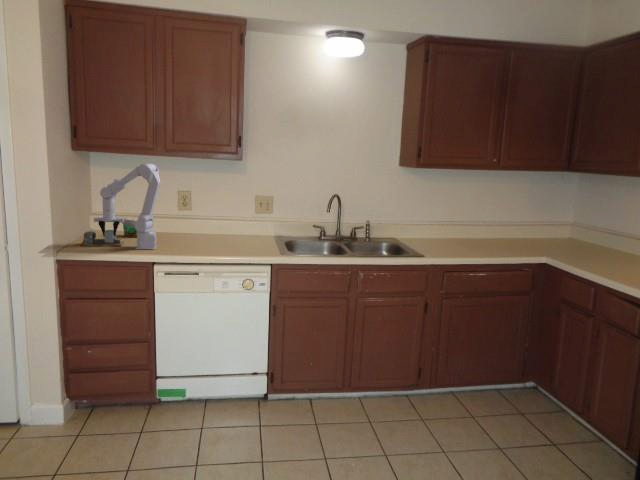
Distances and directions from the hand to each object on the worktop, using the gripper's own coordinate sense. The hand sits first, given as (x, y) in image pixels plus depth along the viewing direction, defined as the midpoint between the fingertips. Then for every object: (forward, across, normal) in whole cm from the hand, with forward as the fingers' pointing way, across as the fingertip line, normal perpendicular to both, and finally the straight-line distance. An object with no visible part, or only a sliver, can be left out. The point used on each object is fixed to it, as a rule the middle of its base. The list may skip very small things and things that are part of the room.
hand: (109, 235), depth 258 cm
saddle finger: (+3, 0, 0) cm, 3 cm away
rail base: (+5, +4, 0) cm, 6 cm away
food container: (+5, -6, -22) cm, 23 cm away
